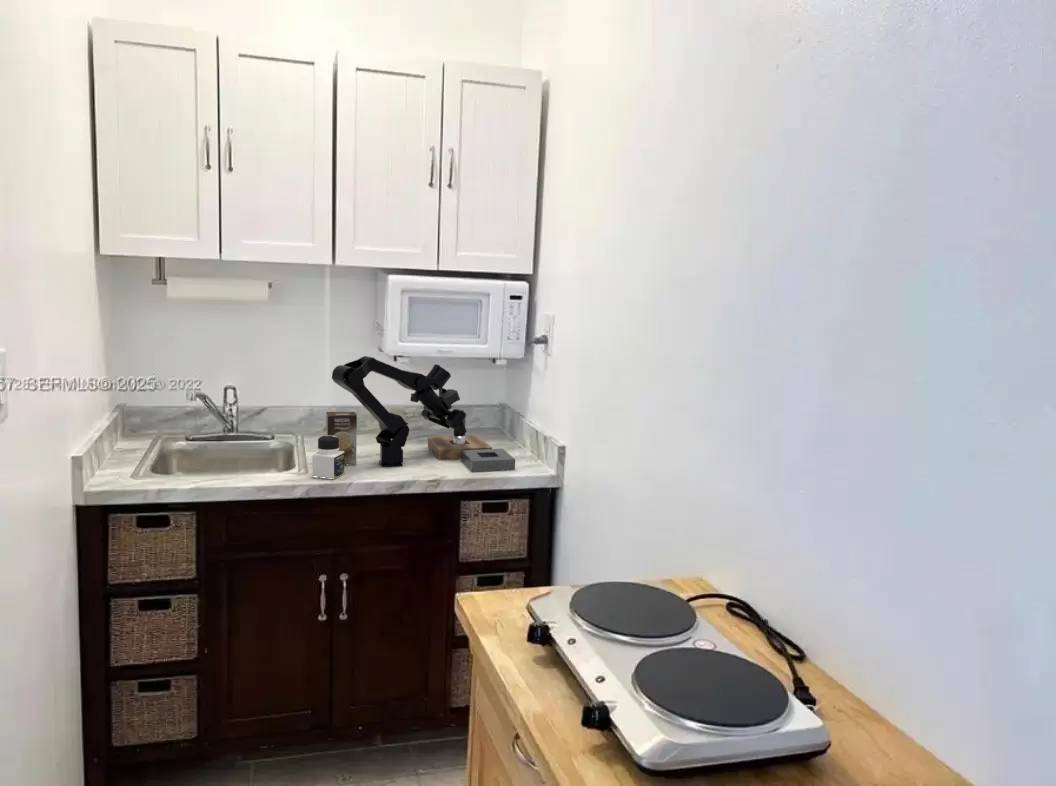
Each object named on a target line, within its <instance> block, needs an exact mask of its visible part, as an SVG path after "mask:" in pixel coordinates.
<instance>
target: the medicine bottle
mask: <svg viewBox="0 0 1056 786" xmlns="http://www.w3.org/2000/svg"><path fill="white" fill-rule="evenodd" d="M338 450H339V438H338V437H336V436H332V435H327V436H326V435H322V436H320V437H318V439H317V452H315V453H312V456H311V457H312V465H311V467H312V469H311V470H312V473H311V474H312V475H311V477H312V476H317V477H325V478H332V479H335V478H337V477H338V476H340V475H341V476H343V475H344V474H345V472H346V471H345V466H346V465H345V452H344V451H338ZM342 474H343V475H342ZM341 476H340V477H341ZM338 478H339V477H338ZM338 478H337V479H338ZM335 480H336V479H335Z"/></svg>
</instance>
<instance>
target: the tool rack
mask: <svg viewBox="0 0 1056 786" xmlns="http://www.w3.org/2000/svg"><path fill="white" fill-rule="evenodd" d="M427 448H428V450H430V452H431V451H432V452H431V453H432V454H433V455H434V456H435V458H437V460H438V461H446V460H447V459H448V460H449V459H453V460H461V450H481V449H493V447H492V445H490V444H489V443H488V442H486V440H484V439H483V438H482V437H480V435H477V434H476V435H465V444H458V445H453V435H452V436H451V435H450V436H449V435H448V436H428V437H427Z"/></svg>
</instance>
